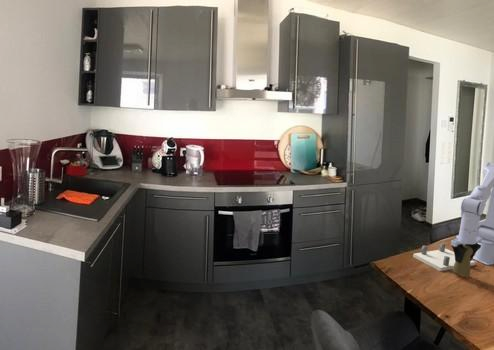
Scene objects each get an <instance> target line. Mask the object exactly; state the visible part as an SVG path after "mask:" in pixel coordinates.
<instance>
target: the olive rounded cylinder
mask: <svg viewBox="0 0 494 350" xmlns="http://www.w3.org/2000/svg"><path fill="white" fill-rule="evenodd" d="M463 246H464V247H465V248H467V251H466V252H465V254H464V256H463V260H462V262H461V263H459V262H456V261H455V264H454V267H453V269H451V270H452V272H454V273H455V274H457V275H459V276H464V277H468V276H471V266H470V256H471V255H472V254H473V249H472V248H471V247H469V246H465V245H463Z"/></svg>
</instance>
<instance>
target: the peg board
mask: <svg viewBox="0 0 494 350" xmlns="http://www.w3.org/2000/svg"><path fill="white" fill-rule="evenodd" d="M446 245H447V244H445V243H444V242H441V243H440V245H439V249H436V250H430V251H429V250H428V246H427V245H422V247H421V252H416V253H413V255H412V257H413V258H414V259H416V260H418V261H420V262H423V263H424V264H425V265H428V266H430V267H431V268H433V269H435V270H437V271H439V272H444V271H449V270H453V267H454V264H455V255H454V251H453V250H450V249H448V248H446ZM475 265H476V261H474V260H473V259H472V260H471V261H470V267H472V266H475Z"/></svg>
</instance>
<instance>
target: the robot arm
mask: <svg viewBox="0 0 494 350" xmlns="http://www.w3.org/2000/svg"><path fill="white" fill-rule="evenodd" d="M482 174H483V180H482V181H481V183H480V185H477V186H475V187H474V189H473V190H472V191H471V193H470V194H469V196H468V197H467V198H463V200H462V201H461V205H460V216H461V221H460V227H459V233H458V235H456V237H455V238H454V239H451V241H450V246H451V248H452V252H454V255H455V261H456V262H459V263H461V262H462V260H463V256H464V254H465V252H466V251H467V248H465V247H464V246H463V245H465V246H469V247H471V248H472V249H473V254H472V255H471V256H470V261H471V260H472V261H473V260H475V261H477V262H479V263H481V264H484V265H485V266H490V265H491V266H492V265H494V162H486V163H485V164H484V166H483V171H482ZM488 200H489V201H488ZM487 201H488V206H487V211H486V214H485V215H486V216H485V218H484V219H482V220H480V219H481V216H482V215H483V214H484V211H485V208H486V205H487V204H486V203H487Z"/></svg>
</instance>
